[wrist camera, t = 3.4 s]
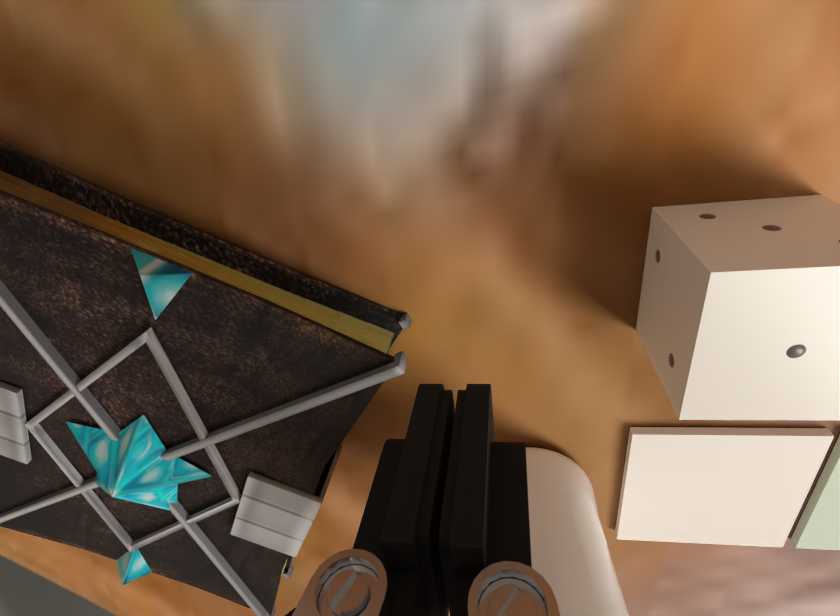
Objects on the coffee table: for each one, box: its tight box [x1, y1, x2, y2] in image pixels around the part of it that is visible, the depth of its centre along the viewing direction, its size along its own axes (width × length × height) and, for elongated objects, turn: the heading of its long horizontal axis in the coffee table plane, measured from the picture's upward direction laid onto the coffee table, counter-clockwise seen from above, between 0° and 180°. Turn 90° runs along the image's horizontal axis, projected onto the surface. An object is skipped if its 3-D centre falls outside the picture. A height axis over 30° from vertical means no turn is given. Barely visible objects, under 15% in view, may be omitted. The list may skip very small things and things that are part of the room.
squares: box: [615, 427, 840, 550], centre depth 19 cm, size 7×14×1 cm, turn 98°
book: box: [0, 142, 412, 616], centre depth 20 cm, size 22×17×5 cm
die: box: [636, 195, 840, 420], centre depth 13 cm, size 5×5×5 cm
